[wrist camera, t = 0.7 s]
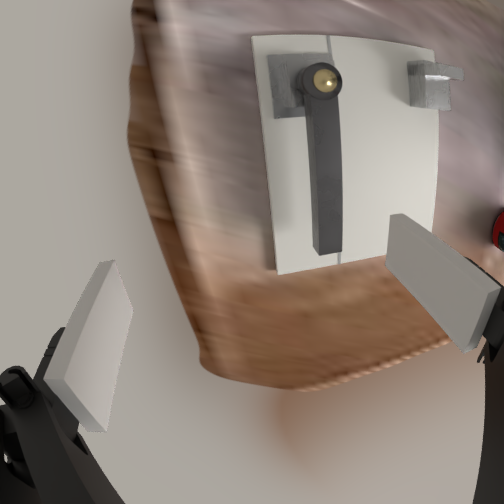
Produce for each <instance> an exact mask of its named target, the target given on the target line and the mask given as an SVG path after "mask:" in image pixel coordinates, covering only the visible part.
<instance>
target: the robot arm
mask: <svg viewBox="0 0 504 504" xmlns="http://www.w3.org/2000/svg"><path fill="white" fill-rule="evenodd" d="M385 266H386V267H387V268H388V269H389V270H390V271H391V273H392V274H393V275H394V276H395V277H396V278H397V279H398V280H399V281H400V282H401V283H402V284H403V285H404V286H405V287H406V288H407V289H408V291H409V292H410V293H411V294H412V295H413V296H414V297H415V298H416V299H417V300H418V301H419V303H420V304H421V305H422V306H423V307H424V308H425V309H426V310H427V312H428V313H429V314H430V315H431V316H432V317H433V318H434V319H435V321H436V322H437V323H438V324H439V325H440V326H441V328H442V329H443V330H444V331H445V332H446V333H447V335H448V336H449V337H450V338H451V339H452V341H453V342H454V343H455V344H456V345H457V347H459V349H460V350H461V352H462V353H463V354H465V353H467V352H469V351H470V350H472V349H474V348H476V347H477V346H478V343H479V341H480V339H481V337H482V335H483V336H484V337H485V338H486V343H485V345H484V347H483V349H482V351H481V353H480V355H479V357H478V360H477V362H478V363H479V362H480V360H481V358H482V357H483V356H484V358H485V359H484V361H483V363H484V364H485V419H484V433H483V444H482V453H481V461H480V468H479V474H478V480H477V485H476V490H475V495H474V499H473V504H504V286H503V285H501V284H500V283H499V282H498V281H497V280H495V279H494V278H493V277H492V276H491V275H489V274H488V273H487V272H486V273H485V270H483V269H482V268H481V267H479V266H478V265H477V264H476V263H475V262H473V261H472V260H471V259H469V258H466V257H464V256H462V255H461V254H460V253H458V252H457V251H456V250H454V249H453V248H452V247H450V246H449V245H448V244H446V243H445V242H444V241H442V240H441V239H439V238H438V237H437V236H435V235H434V234H432V233H431V232H430V231H428V230H427V229H425V228H424V227H423V226H421V225H420V224H418V223H417V222H415V221H414V220H412V219H411V218H409V217H408V216H406V215H405V214H403V213H400V214H393V215H390V221H389V233H388V244H387V253H386V262H385ZM133 311H134V310H133V308H132V305H131V303H130V300H129V298H128V295H127V293H126V290H125V287H124V284H123V282H122V279H121V276H120V273H119V271H118V268H117V265H116V262H115V260H111V261H106V262H100V263H99V264H98V266H97V268H96V270H95V272H94V273H93V275H92V277H91V279H90V281H89V282H88V284H87V286H86V288H85V290H84V292H83V294H82V296H81V297H80V300H79V301H78V303H77V305H76V307H75V309H74V311H73V313H72V315H71V317H70V319H69V322H68V323H67V326H66V327H62V328H60V329H59V330H58V331H57V332H56V333H55V335H54V336H53V337H52V339H51V341H50V343H49V345H48V349H46V351H45V354H44V357H43V358H42V360H41V362H40V365H39V367H38V369H37V372H36V374H35V376H34V379H33V380H32V378H31V377H30V376H29V374H28V373H27V372H26V370H25V369H24V368H23V367H20V366H12V367H10V368H8V369H6V370H5V371H4V372H3V373H2V374H1V375H0V397H1V398H2V400H3V401H4V402H5V403H6V404H5V405H1V406H0V504H125V503H124V501H123V500H122V499H121V497H120V496H119V495H118V494H117V492H116V490H115V489H114V488H113V486H112V485H111V483H110V482H109V480H108V479H107V477H106V476H105V474H104V473H103V471H102V469H101V468H100V466H99V465H98V463H97V461H96V460H95V459H94V457H93V455H92V453H91V452H90V450H89V448H88V446H87V445H86V443H85V441H84V439H83V438H82V436H81V435H80V434H79V432H78V431H77V429H78V425H79V423H80V424H81V425H82V426H83V427H84V428H85V429H86V430H87V431H89V432H90V431H91V432H107V429H108V423H109V417H110V412H111V406H112V401H113V396H114V391H115V386H116V381H117V376H118V372H119V367H120V363H121V359H122V354H123V350H124V346H125V342H126V337H127V333H128V330H129V326H130V322H131V318H132V315H133ZM4 454H5V455H6V456H7V459H8V461H7V463H6V462H5V460H4Z"/></svg>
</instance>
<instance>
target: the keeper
mask: <svg viewBox="0 0 504 504" xmlns="http://www.w3.org/2000/svg"><path fill="white" fill-rule="evenodd" d="M407 71H408V83H409V98H410V107H418V108H426V109H436V110H445V111H451V106H450V86H449V80H463V81H464V73H463V69H461V68H457V67H453V66H449V65H445V64H441V63H436V62H431V61H426V60H417V61H407Z"/></svg>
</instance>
